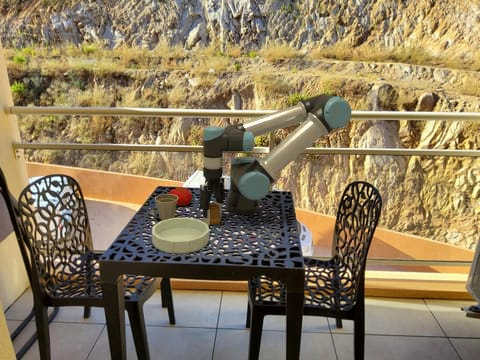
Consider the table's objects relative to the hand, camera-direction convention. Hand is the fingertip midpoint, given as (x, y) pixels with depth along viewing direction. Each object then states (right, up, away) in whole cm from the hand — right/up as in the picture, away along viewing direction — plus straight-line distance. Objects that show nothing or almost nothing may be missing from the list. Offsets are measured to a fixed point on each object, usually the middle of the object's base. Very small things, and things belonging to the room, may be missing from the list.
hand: (212, 221), depth 156 cm
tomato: (-16, +6, +19) cm, 25 cm away
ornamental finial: (0, -1, 0) cm, 1 cm away
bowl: (-10, -5, -16) cm, 20 cm away
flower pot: (-19, +1, +3) cm, 19 cm away
